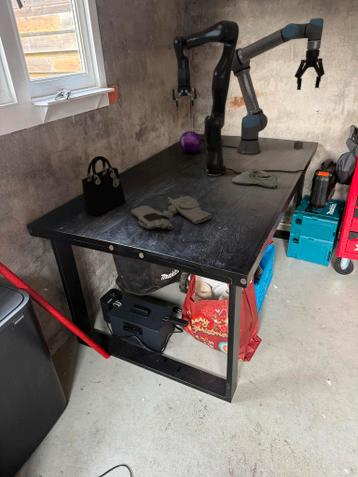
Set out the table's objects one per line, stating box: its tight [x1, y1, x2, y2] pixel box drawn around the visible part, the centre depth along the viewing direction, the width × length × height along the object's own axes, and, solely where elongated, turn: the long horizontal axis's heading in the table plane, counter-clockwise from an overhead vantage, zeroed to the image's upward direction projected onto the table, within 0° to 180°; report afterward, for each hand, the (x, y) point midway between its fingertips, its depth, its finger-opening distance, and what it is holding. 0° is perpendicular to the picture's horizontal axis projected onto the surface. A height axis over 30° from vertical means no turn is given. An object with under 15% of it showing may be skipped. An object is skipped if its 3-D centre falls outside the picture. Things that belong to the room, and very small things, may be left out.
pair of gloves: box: [130, 195, 212, 230], centre depth 145 cm, size 30×26×5 cm
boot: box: [203, 115, 210, 145], centre depth 250 cm, size 9×24×20 cm, turn 168°
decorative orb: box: [178, 130, 202, 154], centre depth 230 cm, size 15×15×15 cm
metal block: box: [293, 140, 304, 150], centre depth 229 cm, size 4×4×4 cm
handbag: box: [81, 155, 126, 217], centre depth 153 cm, size 21×9×25 cm, turn 148°
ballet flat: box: [231, 169, 279, 189], centre depth 173 cm, size 8×24×8 cm, turn 61°
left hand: (185, 107), depth 195 cm, fingers open, 8 cm apart
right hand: (307, 88), depth 205 cm, fingers open, 13 cm apart
